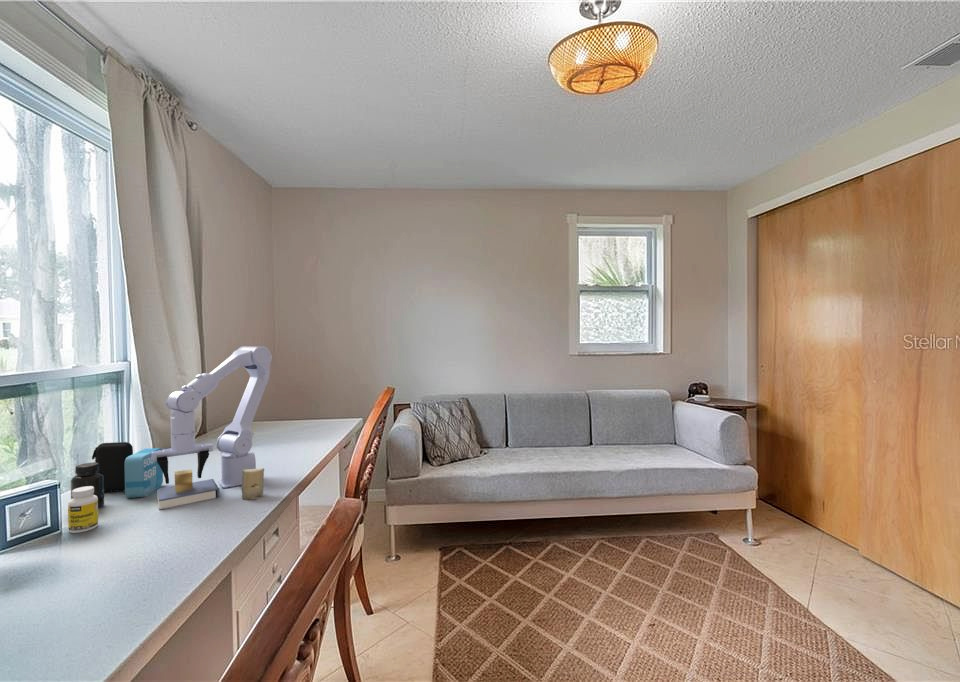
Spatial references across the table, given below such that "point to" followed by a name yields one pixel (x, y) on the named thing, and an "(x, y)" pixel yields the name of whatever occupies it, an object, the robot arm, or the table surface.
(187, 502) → the slate blue book
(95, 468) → the supplement bottle
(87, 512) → the supplement bottle
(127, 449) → the carrying case or bag
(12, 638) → the table surface
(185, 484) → the mustard block
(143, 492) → the data package
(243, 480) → the tan upright rounded block
